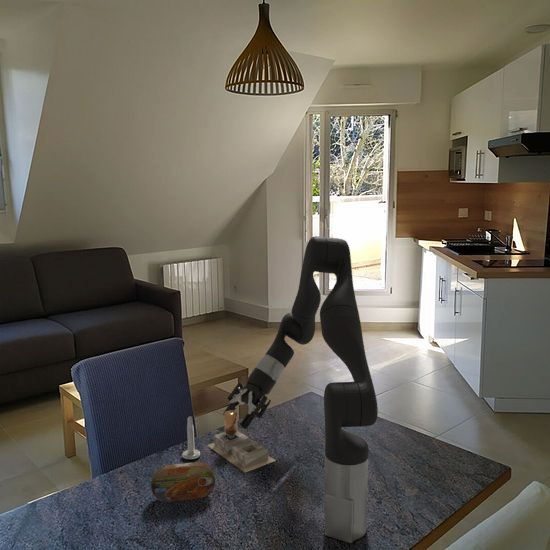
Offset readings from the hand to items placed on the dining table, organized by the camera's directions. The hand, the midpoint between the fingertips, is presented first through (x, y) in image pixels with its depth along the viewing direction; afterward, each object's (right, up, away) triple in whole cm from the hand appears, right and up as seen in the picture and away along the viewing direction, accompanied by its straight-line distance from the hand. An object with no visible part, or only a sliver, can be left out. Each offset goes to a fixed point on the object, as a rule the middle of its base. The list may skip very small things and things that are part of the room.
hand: (233, 422), depth 157 cm
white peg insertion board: (+2, -9, -3) cm, 9 cm away
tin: (-10, -13, -22) cm, 27 cm away
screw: (-11, -10, -5) cm, 15 cm away
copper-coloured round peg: (-1, -7, +1) cm, 7 cm away
